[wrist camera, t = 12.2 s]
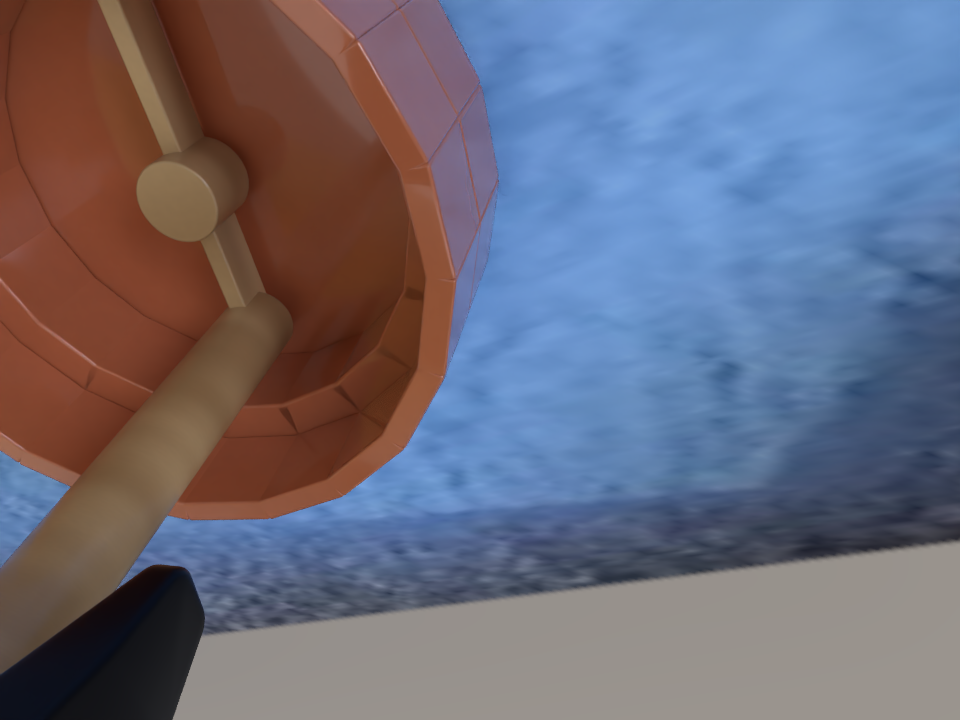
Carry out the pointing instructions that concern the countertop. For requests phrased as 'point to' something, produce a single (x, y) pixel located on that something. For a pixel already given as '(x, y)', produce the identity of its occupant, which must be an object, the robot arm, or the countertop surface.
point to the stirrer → (184, 392)
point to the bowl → (264, 223)
